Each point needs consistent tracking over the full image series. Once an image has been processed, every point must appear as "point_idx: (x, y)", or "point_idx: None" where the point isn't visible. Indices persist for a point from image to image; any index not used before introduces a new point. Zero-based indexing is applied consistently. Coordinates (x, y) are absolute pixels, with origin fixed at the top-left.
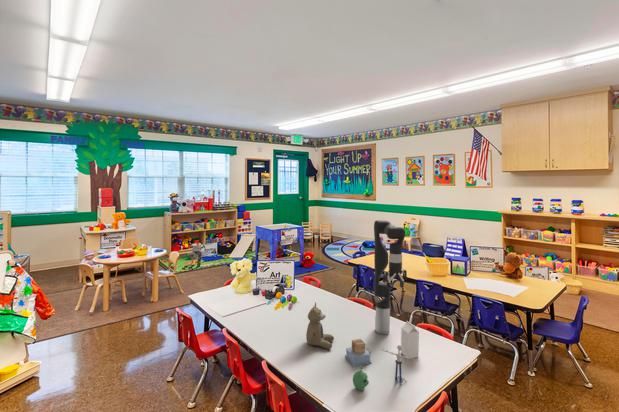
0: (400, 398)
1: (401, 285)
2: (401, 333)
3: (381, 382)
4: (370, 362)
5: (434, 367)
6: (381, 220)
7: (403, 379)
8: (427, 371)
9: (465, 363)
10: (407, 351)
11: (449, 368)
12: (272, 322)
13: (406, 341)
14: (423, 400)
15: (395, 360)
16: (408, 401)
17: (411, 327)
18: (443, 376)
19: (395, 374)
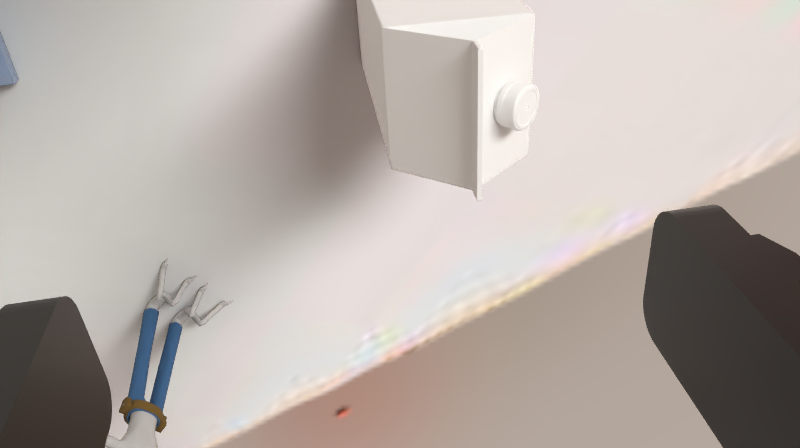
0: None
1: (683, 358)
2: (374, 13)
3: (54, 293)
4: (3, 84)
5: (493, 193)
6: None
7: (199, 323)
8: (418, 226)
9: (724, 178)
10: (368, 84)
11: (580, 214)
12: None
13: (376, 99)
14: (252, 425)
15: (120, 411)
16: (170, 427)
17: (459, 162)
18: (482, 279)
19: (138, 342)
